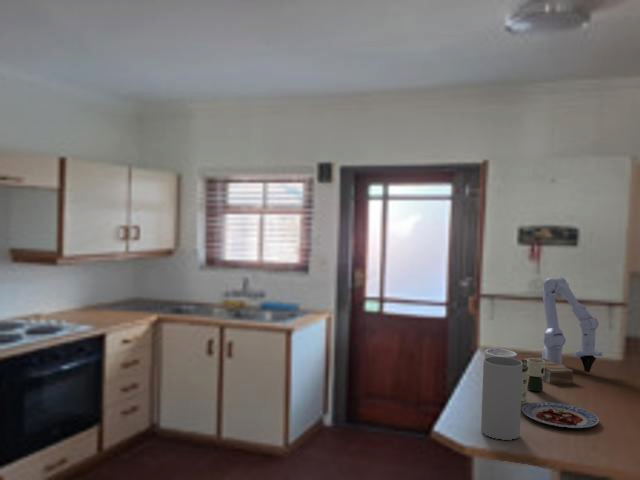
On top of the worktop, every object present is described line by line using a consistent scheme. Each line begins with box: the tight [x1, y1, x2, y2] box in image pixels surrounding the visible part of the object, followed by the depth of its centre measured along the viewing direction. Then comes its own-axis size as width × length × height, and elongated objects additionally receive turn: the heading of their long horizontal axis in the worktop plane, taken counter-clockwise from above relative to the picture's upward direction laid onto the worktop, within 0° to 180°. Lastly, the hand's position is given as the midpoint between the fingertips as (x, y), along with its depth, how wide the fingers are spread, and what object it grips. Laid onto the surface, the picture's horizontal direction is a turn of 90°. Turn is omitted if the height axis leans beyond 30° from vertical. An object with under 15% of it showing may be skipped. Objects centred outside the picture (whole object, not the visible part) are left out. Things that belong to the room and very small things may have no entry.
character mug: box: [527, 357, 545, 392], centre depth 241 cm, size 11×7×13 cm, turn 157°
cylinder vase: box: [480, 357, 523, 441], centre depth 191 cm, size 12×12×25 cm
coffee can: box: [521, 365, 528, 405], centre depth 227 cm, size 10×10×14 cm
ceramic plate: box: [522, 401, 600, 429], centre depth 207 cm, size 26×26×3 cm
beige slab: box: [521, 357, 574, 385], centre depth 263 cm, size 22×11×6 cm, turn 14°
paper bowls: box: [483, 348, 518, 360], centre depth 276 cm, size 15×15×8 cm
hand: (587, 371), depth 268 cm, fingers closed
